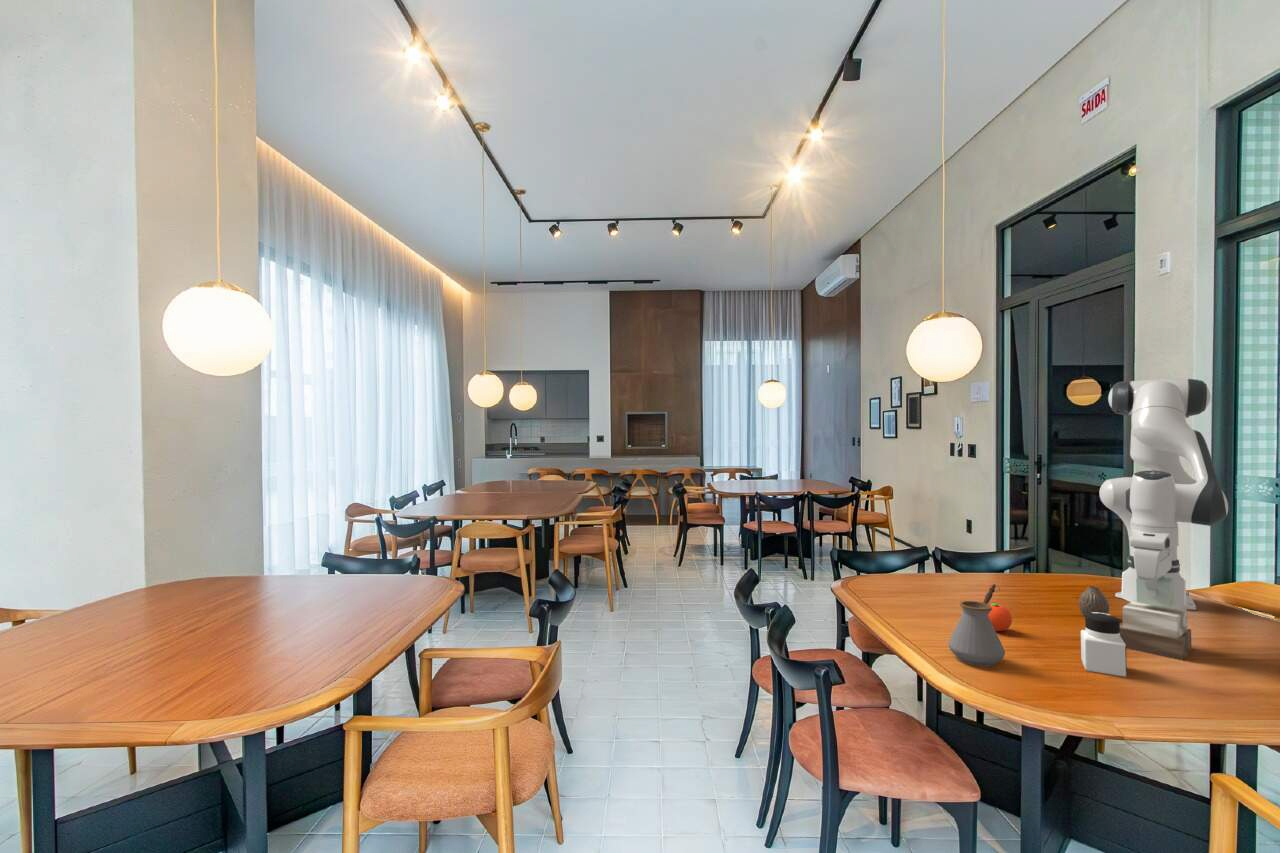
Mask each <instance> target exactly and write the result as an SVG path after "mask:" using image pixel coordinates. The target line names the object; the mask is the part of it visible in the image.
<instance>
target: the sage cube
mask: <svg viewBox="0 0 1280 853" xmlns="http://www.w3.org/2000/svg"><path fill="white" fill-rule="evenodd" d="M1136 589H1137V602H1138V603H1144V604H1150V605H1156V606H1162V607H1168V608H1170V607H1171V606H1172V605H1173V604H1174V579H1173V578H1166V577H1161V578H1159V579H1158V580H1157V596H1155V597H1152V596H1148V595H1147V591H1146V585H1145V580H1141V579H1138V578H1136Z"/></svg>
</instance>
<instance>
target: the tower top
mask: <svg viewBox="0 0 1280 853" xmlns="http://www.w3.org/2000/svg"><path fill="white" fill-rule="evenodd" d="M1121 608H1122V622H1123V628H1128V629H1133V630H1138V631H1143V632H1148V633H1152V634H1157V635H1162V636H1167V637H1172V638H1177V639H1178V638H1179V637H1180V636H1181V635H1182V634H1184V633H1185V632H1186V631H1187V629H1188V609H1181V608H1175V607H1170V608H1168V607H1162V606H1156V605H1150V604H1144V603H1138V602H1137V601H1135V600H1134V601H1132V602H1128V603H1127V604H1126V605H1124V606H1122V607H1121Z"/></svg>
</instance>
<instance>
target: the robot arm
mask: <svg viewBox="0 0 1280 853" xmlns="http://www.w3.org/2000/svg"><path fill="white" fill-rule="evenodd" d="M1211 397H1212V396H1211V392H1210V389H1209V387H1208V386H1207V383H1206V382H1204V381H1203V380H1199V379H1193V378H1188V379H1180V378H1158V379H1157V378H1155V379H1153V378H1152V379H1139V380H1131V381H1130V380H1123V381H1118V382H1116V383H1115V384H1113V385H1112V388H1111V389H1110V391H1109V393H1108V397H1107V400H1108V404H1109V407H1110V408H1111V411H1112V412H1114V413H1115V414H1117V415H1120V416H1121V415H1122V416H1131V420H1130V422H1131V428H1130V429H1131V430H1130V446H1129V449H1130V450H1129V455H1130V457H1131V460H1132V461H1134V462H1135V463H1136V464H1138V465H1140V466H1142V467H1144V468H1147V469H1148V470H1143V471H1142V470H1140V471H1137V472H1135V473H1133V475H1132V477H1131V476H1129V477H1128V476H1124V477H1116V478H1109V479H1106V480H1105V481H1103V483H1102V484H1101V486H1100V488H1099V499H1100V501H1101V502H1102V504H1103V505H1104V506H1105V507H1106V508H1108V509H1109V510H1111V511H1112V512H1113V513H1115V514H1116V515H1117V516H1118V518H1120V519H1121V521H1122V522H1123V524H1124V526H1125V528H1126V530H1127V535H1128V536H1127V537H1128V546H1129V553H1128V555H1127V565H1128V568H1127V569H1125V570H1124V571H1122V574H1121V591H1119V592H1116V593H1115V597H1116V598H1120V599H1123V600H1125V601H1126V602H1128V603H1130V602H1132V601H1134V600H1135V601H1137V589H1136V578H1138V579H1141V580H1145V585H1146V591H1147V595H1148V596H1152V597H1155V596H1157V580H1158V579H1159V578H1161V577H1166V578H1173V579H1174V604H1173V605H1172V606H1171V607H1175V608H1181V609H1187V610H1192V611H1193V610H1197V606H1196V604H1195V602H1194V600H1193V597H1192V596H1190V592H1189V591H1187V587H1186V586H1187V583H1186V580H1185V579H1184V577H1182V575H1181V573H1180V571H1181V563H1180V560H1179V559H1178V547H1179V524H1178V523H1187V524H1189V523H1190V524H1194V525H1201V526H1208V527H1211V526H1214V525H1216V524H1218V523H1220V522H1222V521H1224V520H1225V519H1226V518H1227V515H1228V512H1229V502H1228V499H1227V497H1226V494H1225V493H1224V491H1223V490H1222V488H1221V484H1220V482H1219V478H1218V475H1217V473H1216V469H1215V466H1214V463H1213V459H1212V456H1211V452H1210V450H1209V447H1208V444H1207V441H1206V439H1205V437H1204V436H1203V434H1202V432H1200V431H1198V430H1196V429H1193V428H1192V427H1191V426H1190V425H1189V424H1188V423H1187V421H1186V420H1187V418H1190V417H1192V416H1196V415H1197V416H1198V415H1200V414H1202V413H1203V412H1205V411H1206V409H1207V408H1208V405H1209V404H1210V402H1211ZM1180 457H1182V458H1184V459H1185V460H1187V461H1188V462H1189V464H1190V465H1191V469H1192V472H1193V476H1194V478H1193V477H1192V476H1191V475H1189V474H1188V473H1187V471H1186V470H1185V469H1184V468H1183V465H1182V463H1181V459H1180ZM1149 469H1150V470H1149Z"/></svg>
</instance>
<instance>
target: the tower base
mask: <svg viewBox="0 0 1280 853" xmlns="http://www.w3.org/2000/svg"><path fill="white" fill-rule="evenodd" d="M1120 637H1121V638H1122V640H1123V641H1124V643H1125V644H1126V650H1127V649H1128V650H1133V651H1137V652H1142V653H1146V654H1150V655H1154V654H1155V656H1159V657H1163V658H1168V659H1172V658H1173V660H1177V659H1178V661H1181V660H1182V661H1181V662H1183V661H1184V660H1185V659H1186V657H1187V656H1188V654H1189V653H1190V651H1191V650H1192V649H1193V646H1192V629H1190V628H1187V631H1186V632H1185V633H1184V634H1182V635H1181V636H1180V637H1179V638H1178V639H1177V638H1172V637H1167V636H1162V635H1157V634H1152V633H1148V632H1143V631H1138V630H1133V629H1128V628H1123V621H1122V622H1120ZM1183 659H1184V660H1183Z"/></svg>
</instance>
